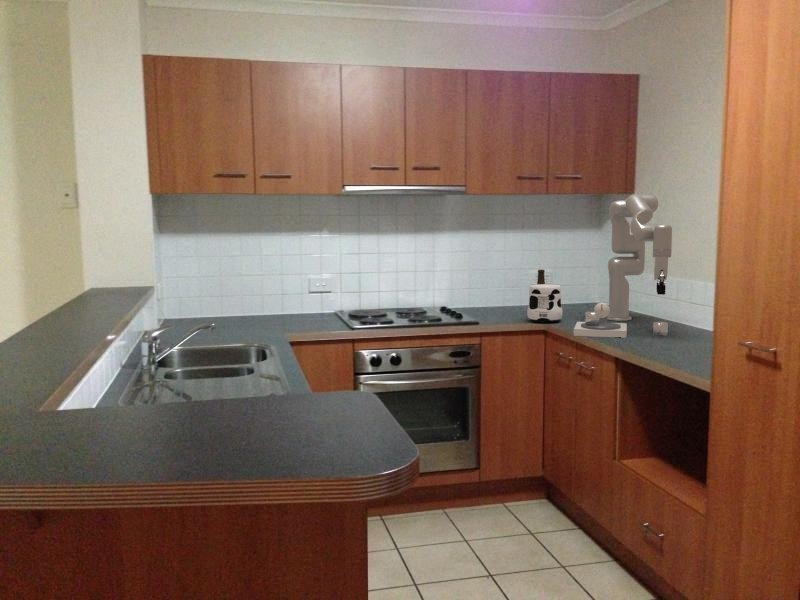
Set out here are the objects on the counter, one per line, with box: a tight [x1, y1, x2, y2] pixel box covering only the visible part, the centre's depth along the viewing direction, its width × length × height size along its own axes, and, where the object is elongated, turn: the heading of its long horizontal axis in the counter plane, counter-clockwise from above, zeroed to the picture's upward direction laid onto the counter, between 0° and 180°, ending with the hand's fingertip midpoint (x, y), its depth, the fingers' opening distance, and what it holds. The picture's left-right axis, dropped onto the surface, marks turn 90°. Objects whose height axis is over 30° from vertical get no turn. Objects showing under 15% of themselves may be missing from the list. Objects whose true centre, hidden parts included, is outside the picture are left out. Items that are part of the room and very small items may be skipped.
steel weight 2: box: [652, 321, 669, 337], centre depth 297 cm, size 6×6×6 cm
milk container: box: [526, 283, 564, 323], centre depth 339 cm, size 17×17×18 cm
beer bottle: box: [536, 269, 546, 284], centre depth 364 cm, size 8×8×24 cm
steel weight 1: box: [584, 311, 600, 326], centre depth 304 cm, size 6×6×6 cm
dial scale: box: [573, 302, 628, 339], centre depth 304 cm, size 22×22×12 cm
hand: (660, 293), depth 295 cm, fingers open, 9 cm apart
